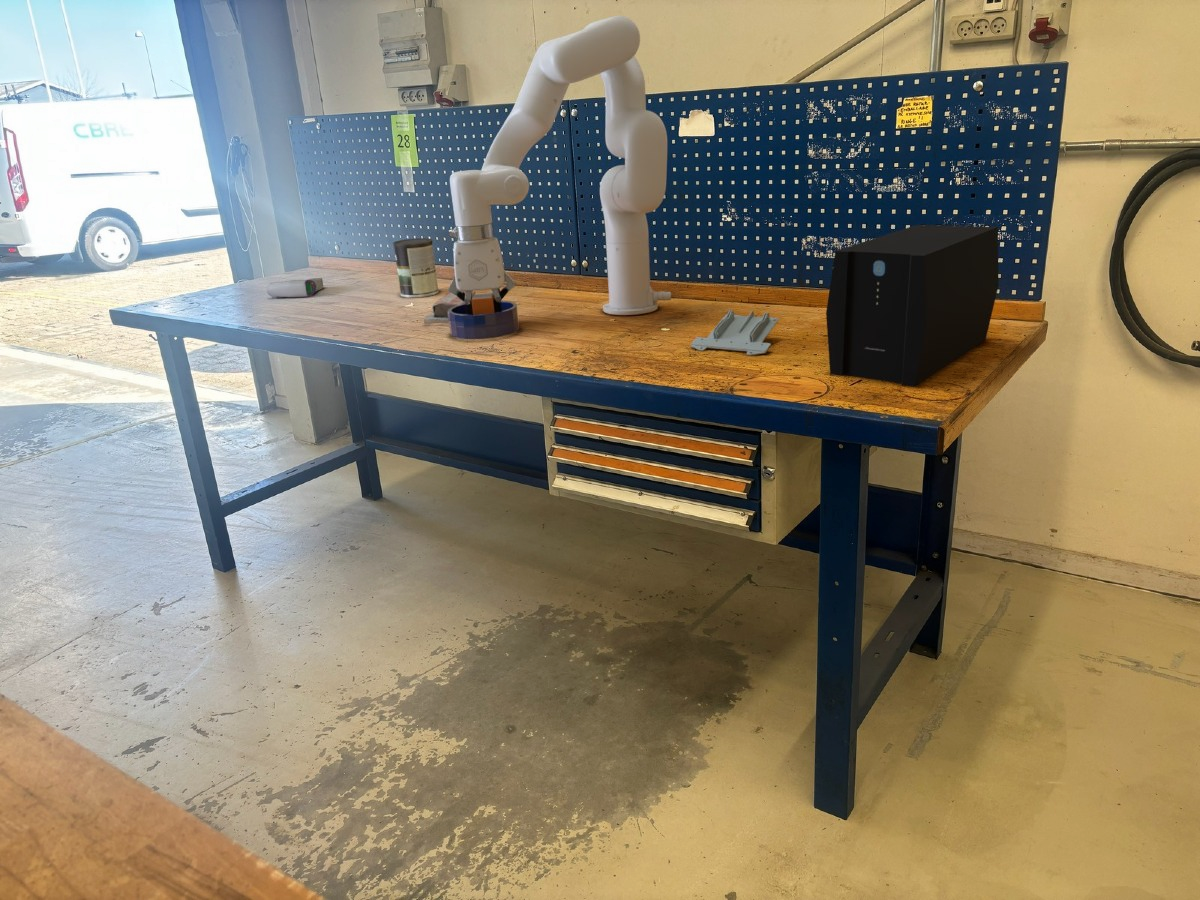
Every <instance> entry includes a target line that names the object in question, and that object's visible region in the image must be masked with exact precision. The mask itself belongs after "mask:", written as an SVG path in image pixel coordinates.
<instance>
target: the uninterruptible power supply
mask: <svg viewBox="0 0 1200 900" xmlns="http://www.w3.org/2000/svg"><path fill="white" fill-rule="evenodd" d="M829 283H830V284H829V291H828V298H827V303H826V309H825V311H826V312H825V316H826V317H825V318H826V334H827V346H828V347H827V348H828V359H829V360H828V361H829V373H830V374H831V375H835V376H853V377H857V378H863V379H864V378H865V379H871V380H877V381H884V382H891V383H897V384H901V385H902V386H907V387H916V386H917V385H919V384H920V383H922V382H923V381H925V380H927V379H928V378H929V377H931V376H933V375H935V374H936V373H937V372H938V371H941V370H942V369H944V368H945V367H946V366H948V365H950V364H951V363H953V362H954V361H956V360H957V359H959V358H960V357H962V356H964V355H966V354H967V353H969V352H970V351H971V350H973V349H974V348H976V347H978V346H979V345H981V344H982V343H984V342H986V340H987V337H988V333H989V327H990V323H991V319H992V314H993V310H994V306H995V302H996V299H997V295H998V289H999V227H998V226H979V225H977V226H975V225H974V226H973V225H945V224H944V225H941V224H940V225H939V224H935V225H934V224H915V225H911V226H909V227H906V228H903V229H899V230H896V231H893V232H890V233H887V234H885V235H881V236H878V237H875V238H872V239H869V240H865V241H863V242H860V243H859V242H858V243H856V244H853V245H850V246H847V247H843V248H841V249H838V250H835V251H834V257H833V263H832V270H831V277H830V282H829Z"/></svg>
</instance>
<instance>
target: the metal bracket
mask: <svg viewBox="0 0 1200 900" xmlns="http://www.w3.org/2000/svg"><path fill="white" fill-rule="evenodd" d="M779 321H780V318H777V317H770V313H769V312H764V313H763V315H762V316H755V311H754V310H751V311H750V313H749V314H748V315H738V314H735V312H734V310H731V309H730V310H728V312H727V314H724V316H723V317H722V318H721V319H720V321H719V322H718V323H717V325H716V326H715V327H714V328H713V329H712V330H711V332H710V333H709V334H708V336H707V337H703V336H702V337H700V336H696V337H695V338H694V339H693V341H692V342H691V343H690V347H692V348H693V349H696V350H698V351H701V352H703V351H706V349H718V350H728V351H738V352H739V351H740V352H746V355H747V356H756V355H761V354H766V353H767V352H768V351H769V350H770V348H771V346H772V343H770V342H764V341H765V340H766V338H767V337H768V336H769V335H770V333H771V331H772V330H773V328H774V327H775V326H776V325H777V323H778V322H779Z"/></svg>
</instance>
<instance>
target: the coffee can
mask: <svg viewBox="0 0 1200 900" xmlns="http://www.w3.org/2000/svg"><path fill="white" fill-rule="evenodd" d="M433 241H434V240H433V239H432V238H427V237H418V238H407V239H400V240H396V241H393V242H392V245H393V250H394V258H395V263H396V270H397V277H398V282H399V283H398V284H399V290H400V297H402V298H410V299H414V298H418V299H419V298H426V297H431V296H434V295H437V294H439V286H438V277H437V270H436V269H437V268H436V262H435V254H434V253H435V252H434V246H433Z"/></svg>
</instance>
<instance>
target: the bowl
mask: <svg viewBox="0 0 1200 900" xmlns="http://www.w3.org/2000/svg"><path fill="white" fill-rule="evenodd" d="M501 305H502V311H500V312H495V313H488V314H476V315H468V310H467V305H466V304H460V305H457V306H454V307H452V308H450V309H449V310H448V319H449V323H448V327H449V333H450V336H452V337H454V338H457V339H464V340H482V339H483V340H484V339H492V338H499V337H504V336H507V335H511V334H513V333H516V332H518V331H519V330H520V319H519V309H518V304H517V303H516V302H513V301H508V300H501Z"/></svg>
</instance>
